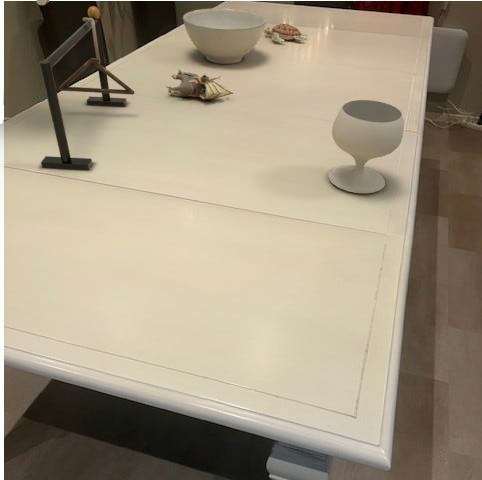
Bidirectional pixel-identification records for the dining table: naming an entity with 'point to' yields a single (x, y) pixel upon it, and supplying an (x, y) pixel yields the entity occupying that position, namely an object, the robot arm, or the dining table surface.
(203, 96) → the figurine
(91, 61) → the hanger
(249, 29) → the decorative bowl
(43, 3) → the robot arm
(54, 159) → the rail
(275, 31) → the decorative turtle
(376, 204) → the dining table surface
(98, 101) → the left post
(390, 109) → the chalice
